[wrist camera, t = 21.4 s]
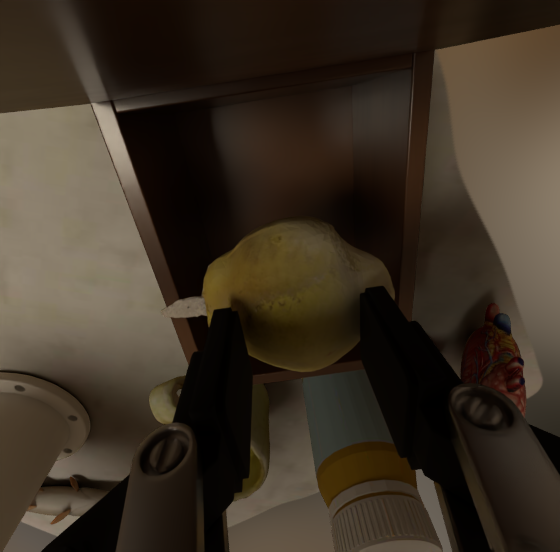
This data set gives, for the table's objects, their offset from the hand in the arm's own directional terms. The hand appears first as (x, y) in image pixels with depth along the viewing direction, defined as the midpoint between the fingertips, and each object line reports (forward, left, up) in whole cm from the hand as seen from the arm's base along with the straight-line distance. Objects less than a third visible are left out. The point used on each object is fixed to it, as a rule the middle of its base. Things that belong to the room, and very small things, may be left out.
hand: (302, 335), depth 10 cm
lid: (0, +7, +4) cm, 8 cm away
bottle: (+3, -17, -14) cm, 23 cm away
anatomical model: (+18, -10, -13) cm, 24 cm away
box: (0, 0, -14) cm, 14 cm away
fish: (-33, -27, -12) cm, 44 cm away
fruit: (-1, 0, -5) cm, 5 cm away
